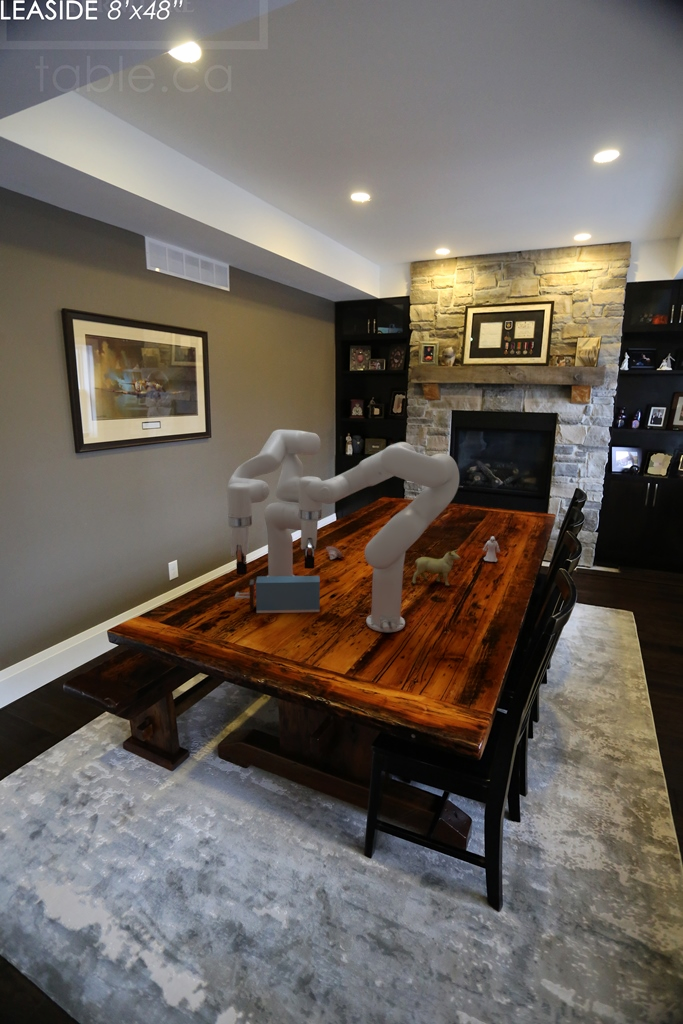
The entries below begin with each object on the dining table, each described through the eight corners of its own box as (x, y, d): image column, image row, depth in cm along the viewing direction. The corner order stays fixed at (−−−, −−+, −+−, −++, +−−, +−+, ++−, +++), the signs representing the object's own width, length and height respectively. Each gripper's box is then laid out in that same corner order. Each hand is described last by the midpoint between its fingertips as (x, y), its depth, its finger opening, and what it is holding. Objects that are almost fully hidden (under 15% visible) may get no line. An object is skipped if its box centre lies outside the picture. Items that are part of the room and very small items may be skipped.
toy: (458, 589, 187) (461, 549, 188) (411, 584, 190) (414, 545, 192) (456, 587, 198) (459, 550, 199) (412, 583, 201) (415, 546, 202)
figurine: (481, 562, 222) (483, 536, 219) (482, 556, 230) (484, 531, 227) (499, 564, 220) (501, 538, 217) (499, 558, 228) (501, 533, 225)
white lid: (330, 566, 224) (319, 552, 223) (336, 559, 227) (325, 546, 227) (340, 561, 218) (328, 547, 217) (346, 554, 221) (335, 540, 220)
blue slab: (256, 613, 169) (255, 582, 166) (257, 605, 174) (257, 576, 172) (319, 612, 170) (319, 582, 168) (319, 604, 176) (319, 575, 173)
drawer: (234, 610, 169) (233, 584, 166) (236, 604, 173) (235, 579, 171) (310, 609, 171) (310, 583, 168) (310, 603, 175) (310, 578, 173)
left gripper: (231, 515, 170) (233, 565, 175) (225, 527, 156) (227, 582, 160) (254, 515, 171) (255, 565, 175) (249, 527, 157) (250, 581, 161)
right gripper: (298, 507, 173) (298, 554, 177) (298, 521, 156) (297, 572, 160) (320, 508, 173) (319, 554, 178) (322, 521, 157) (321, 572, 161)
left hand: (241, 573), depth 168 cm, fingers closed
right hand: (309, 563), depth 169 cm, fingers open, 9 cm apart
